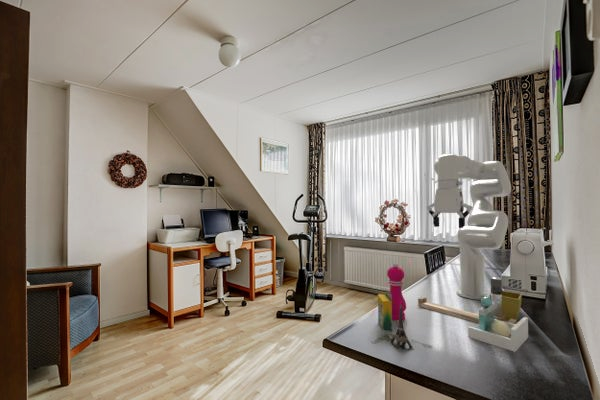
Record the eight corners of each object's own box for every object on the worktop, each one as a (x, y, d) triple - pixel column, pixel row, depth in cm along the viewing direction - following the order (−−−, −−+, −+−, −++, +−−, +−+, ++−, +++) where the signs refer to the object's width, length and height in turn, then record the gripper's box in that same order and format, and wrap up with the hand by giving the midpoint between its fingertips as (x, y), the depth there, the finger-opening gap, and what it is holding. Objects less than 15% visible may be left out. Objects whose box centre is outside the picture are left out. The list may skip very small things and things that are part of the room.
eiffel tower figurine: (434, 348, 83) (434, 302, 83) (423, 363, 75) (423, 312, 75) (384, 333, 92) (384, 291, 92) (370, 345, 84) (370, 299, 85)
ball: (489, 324, 92) (501, 316, 90) (503, 338, 89) (516, 330, 87) (484, 328, 89) (496, 320, 87) (498, 343, 86) (511, 335, 84)
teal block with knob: (491, 320, 99) (491, 276, 100) (505, 324, 96) (504, 278, 97) (474, 333, 89) (474, 283, 90) (489, 337, 86) (488, 286, 87)
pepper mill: (408, 322, 100) (407, 265, 100) (386, 320, 101) (386, 264, 102) (404, 314, 107) (404, 261, 107) (384, 313, 108) (384, 260, 109)
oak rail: (423, 303, 119) (422, 296, 119) (516, 329, 94) (516, 320, 94) (418, 305, 116) (418, 298, 116) (513, 332, 92) (512, 323, 92)
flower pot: (489, 318, 103) (489, 293, 103) (493, 312, 109) (493, 288, 110) (519, 325, 97) (519, 299, 97) (522, 318, 103) (522, 293, 104)
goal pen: (484, 324, 98) (484, 307, 98) (528, 337, 88) (527, 317, 88) (468, 336, 89) (467, 317, 89) (515, 351, 79) (514, 330, 80)
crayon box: (377, 322, 100) (377, 288, 100) (386, 322, 100) (386, 289, 100) (383, 331, 93) (382, 295, 93) (392, 331, 93) (392, 295, 93)
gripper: (475, 184, 111) (475, 228, 111) (431, 186, 125) (431, 225, 124) (467, 183, 107) (468, 229, 106) (423, 185, 120) (423, 226, 120)
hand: (448, 227), depth 115 cm, fingers open, 9 cm apart
